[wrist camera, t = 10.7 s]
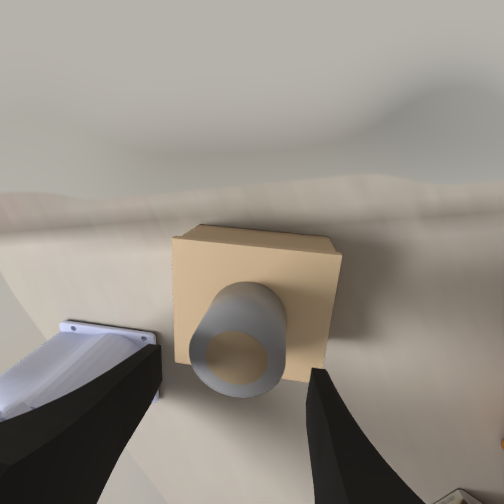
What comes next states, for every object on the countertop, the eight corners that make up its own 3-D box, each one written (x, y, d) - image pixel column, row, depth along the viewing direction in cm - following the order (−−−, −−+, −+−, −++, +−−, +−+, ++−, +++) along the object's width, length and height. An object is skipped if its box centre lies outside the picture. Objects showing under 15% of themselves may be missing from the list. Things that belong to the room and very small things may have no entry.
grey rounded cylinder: (219, 352, 19) (201, 400, 15) (202, 286, 17) (177, 320, 14) (292, 347, 18) (292, 396, 14) (280, 276, 17) (276, 310, 13)
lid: (178, 356, 20) (174, 362, 20) (175, 235, 17) (171, 238, 17) (318, 377, 19) (319, 384, 18) (340, 252, 16) (342, 255, 16)
